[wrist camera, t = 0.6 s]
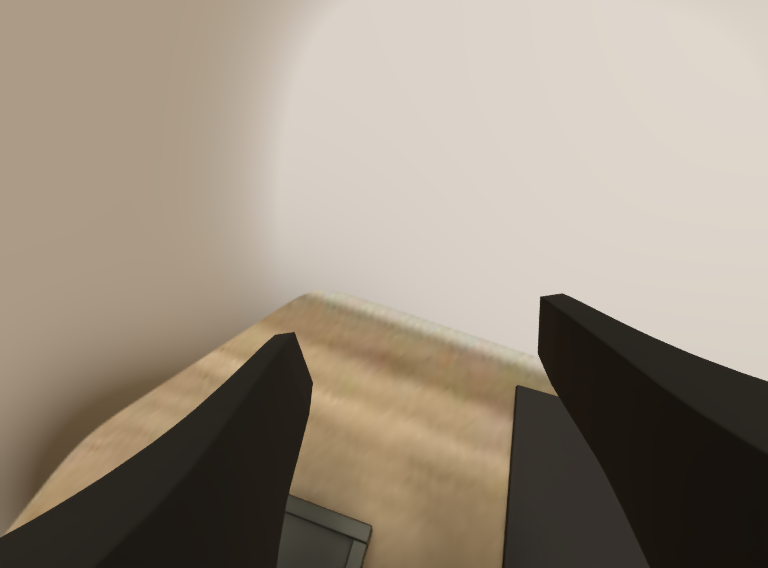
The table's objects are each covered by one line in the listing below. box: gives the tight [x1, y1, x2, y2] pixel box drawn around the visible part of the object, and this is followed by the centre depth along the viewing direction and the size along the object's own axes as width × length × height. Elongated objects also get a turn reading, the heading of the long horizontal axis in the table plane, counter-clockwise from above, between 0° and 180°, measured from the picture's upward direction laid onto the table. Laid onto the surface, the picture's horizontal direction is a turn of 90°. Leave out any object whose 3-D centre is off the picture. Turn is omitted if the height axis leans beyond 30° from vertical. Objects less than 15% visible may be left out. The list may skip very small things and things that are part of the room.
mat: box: [503, 385, 650, 568], centre depth 21 cm, size 14×14×1 cm
